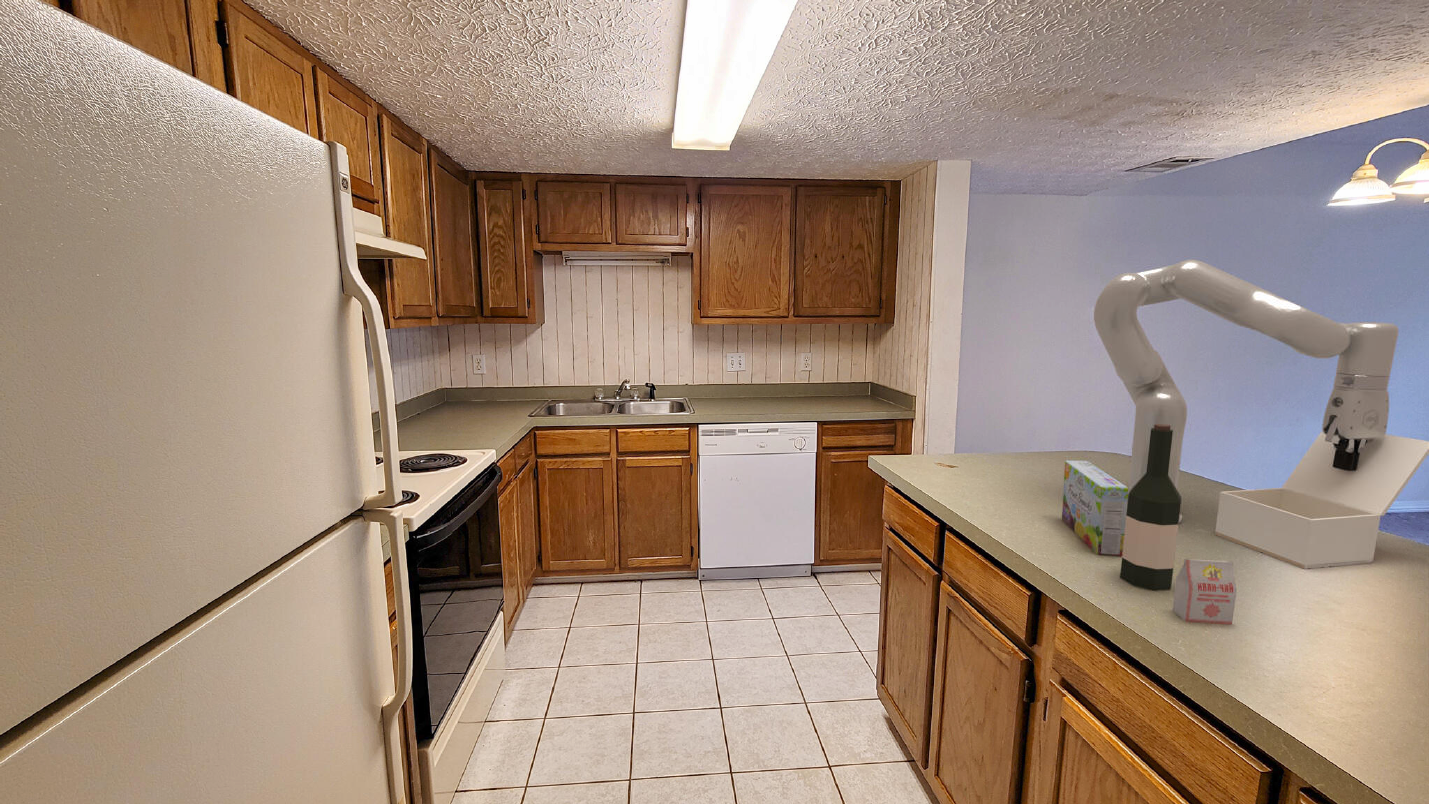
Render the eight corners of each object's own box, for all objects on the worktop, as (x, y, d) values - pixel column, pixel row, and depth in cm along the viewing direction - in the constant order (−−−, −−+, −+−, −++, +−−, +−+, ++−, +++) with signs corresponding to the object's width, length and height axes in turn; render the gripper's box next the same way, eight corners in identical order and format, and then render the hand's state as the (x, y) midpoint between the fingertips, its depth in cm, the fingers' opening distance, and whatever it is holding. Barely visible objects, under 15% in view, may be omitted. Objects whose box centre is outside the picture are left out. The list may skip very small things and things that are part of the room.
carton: (1304, 569, 116) (1311, 520, 114) (1214, 534, 133) (1220, 491, 132) (1372, 563, 118) (1380, 515, 116) (1275, 529, 135) (1281, 487, 134)
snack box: (1058, 519, 144) (1063, 459, 142) (1084, 521, 143) (1089, 460, 140) (1095, 555, 123) (1101, 485, 121) (1125, 557, 122) (1132, 487, 120)
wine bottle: (1158, 595, 106) (1176, 431, 101) (1109, 576, 114) (1124, 423, 109) (1182, 584, 110) (1201, 426, 105) (1134, 567, 117) (1149, 419, 112)
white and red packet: (1172, 610, 101) (1179, 554, 100) (1217, 613, 100) (1224, 557, 98) (1185, 621, 98) (1192, 564, 96) (1231, 624, 96) (1239, 566, 95)
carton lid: (1433, 442, 115) (1435, 444, 115) (1326, 424, 133) (1328, 426, 133) (1380, 514, 116) (1383, 516, 116) (1281, 487, 134) (1284, 489, 134)
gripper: (1351, 386, 117) (1334, 475, 120) (1414, 384, 119) (1396, 473, 122) (1309, 381, 124) (1294, 465, 127) (1368, 380, 126) (1352, 463, 129)
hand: (1344, 469), depth 125 cm, fingers closed
